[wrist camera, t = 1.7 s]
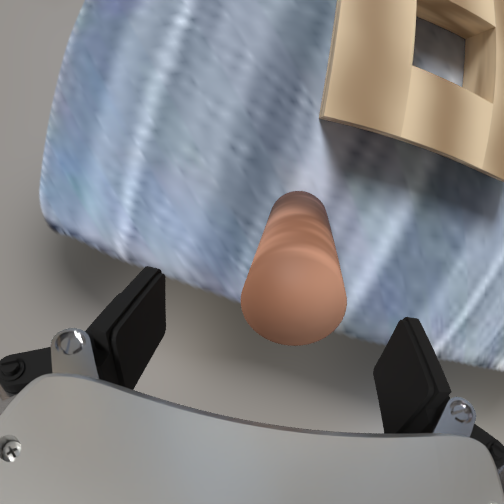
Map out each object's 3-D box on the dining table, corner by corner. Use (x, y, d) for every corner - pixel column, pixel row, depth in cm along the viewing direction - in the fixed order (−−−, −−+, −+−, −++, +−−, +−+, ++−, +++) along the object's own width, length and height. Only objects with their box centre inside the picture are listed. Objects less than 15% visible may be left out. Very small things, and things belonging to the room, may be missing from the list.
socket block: (504, 23, 11) (533, 13, 7) (490, 176, 18) (523, 190, 14) (342, -47, 13) (348, -77, 8) (318, 118, 20) (323, 115, 15)
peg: (332, 198, 22) (360, 270, 11) (319, 250, 24) (328, 352, 13) (275, 185, 22) (248, 246, 11) (265, 239, 24) (235, 334, 13)
